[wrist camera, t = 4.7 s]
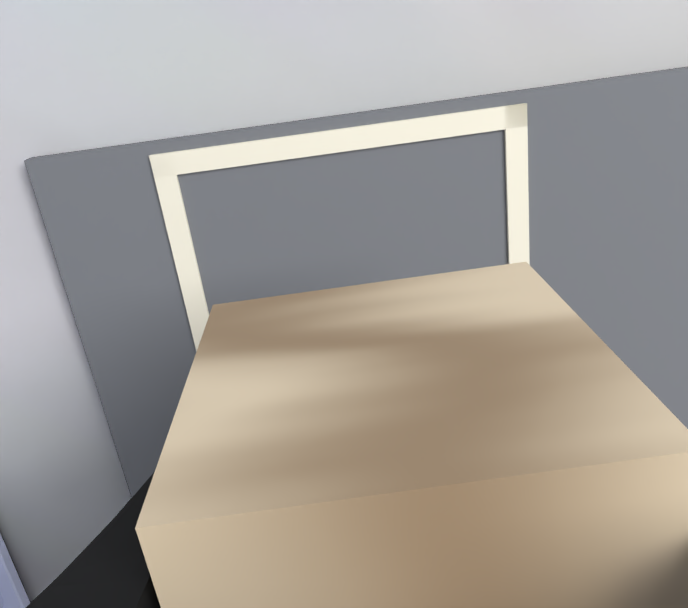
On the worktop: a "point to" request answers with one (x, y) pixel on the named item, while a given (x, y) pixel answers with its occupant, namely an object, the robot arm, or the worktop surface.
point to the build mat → (376, 226)
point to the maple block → (417, 456)
